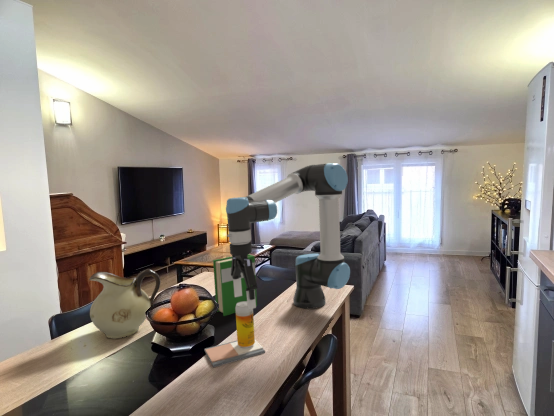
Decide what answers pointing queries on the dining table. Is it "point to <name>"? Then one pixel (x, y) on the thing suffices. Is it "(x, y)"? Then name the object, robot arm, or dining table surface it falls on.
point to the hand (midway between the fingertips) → (244, 302)
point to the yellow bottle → (244, 325)
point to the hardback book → (228, 285)
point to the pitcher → (121, 303)
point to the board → (231, 352)
